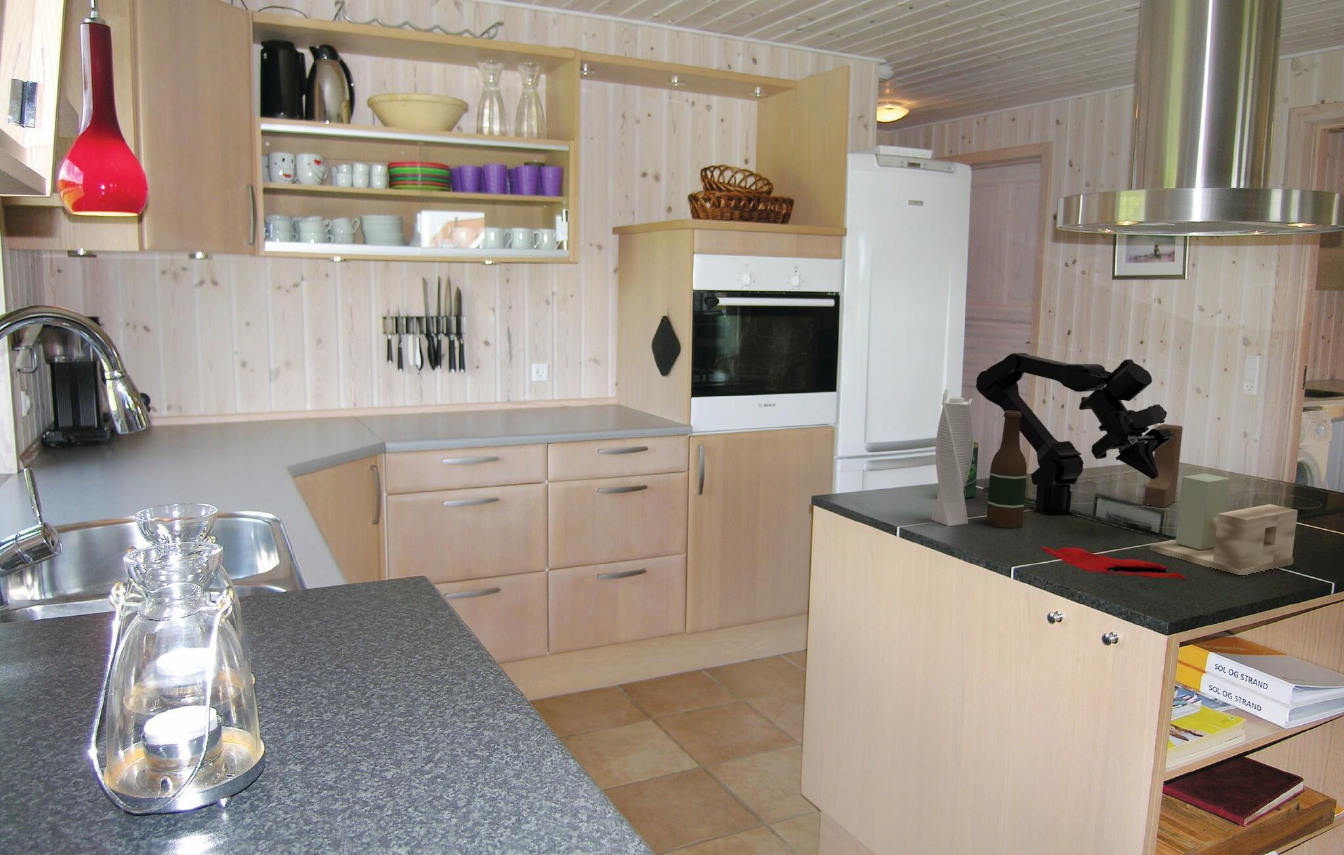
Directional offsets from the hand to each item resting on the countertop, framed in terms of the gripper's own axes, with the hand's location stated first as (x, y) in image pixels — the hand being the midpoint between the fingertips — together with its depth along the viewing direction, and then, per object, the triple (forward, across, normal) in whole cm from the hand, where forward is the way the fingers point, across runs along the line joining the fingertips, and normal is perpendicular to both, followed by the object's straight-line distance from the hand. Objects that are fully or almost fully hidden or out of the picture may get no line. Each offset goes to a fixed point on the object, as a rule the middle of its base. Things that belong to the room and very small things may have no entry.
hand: (1155, 477), depth 189 cm
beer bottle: (-6, -18, +24) cm, 30 cm away
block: (+16, 0, -1) cm, 16 cm away
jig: (+19, 0, -2) cm, 20 cm away
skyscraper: (-10, -27, +29) cm, 41 cm away
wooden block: (-4, +30, +22) cm, 37 cm away
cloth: (+15, -23, +4) cm, 28 cm away
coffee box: (-20, -9, +39) cm, 45 cm away
